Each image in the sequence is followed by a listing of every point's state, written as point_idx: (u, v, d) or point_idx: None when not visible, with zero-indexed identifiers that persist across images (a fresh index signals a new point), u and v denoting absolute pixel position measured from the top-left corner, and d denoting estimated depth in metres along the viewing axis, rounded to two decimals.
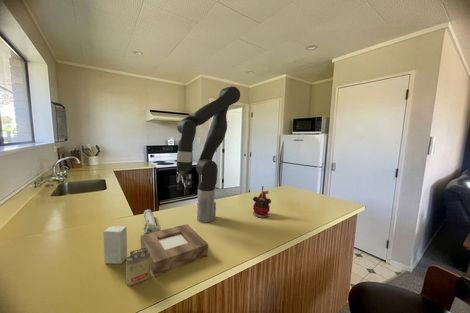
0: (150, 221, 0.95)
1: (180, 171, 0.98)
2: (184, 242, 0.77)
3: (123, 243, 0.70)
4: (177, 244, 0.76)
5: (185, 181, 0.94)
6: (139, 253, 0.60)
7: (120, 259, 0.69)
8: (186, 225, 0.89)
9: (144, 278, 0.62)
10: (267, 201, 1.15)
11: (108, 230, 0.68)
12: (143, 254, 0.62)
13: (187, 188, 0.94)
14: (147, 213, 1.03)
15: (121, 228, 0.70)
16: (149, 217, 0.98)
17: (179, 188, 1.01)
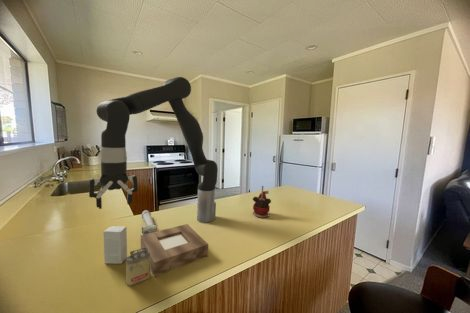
0: (147, 222, 0.94)
1: (107, 178, 0.66)
2: (184, 242, 0.77)
3: (123, 243, 0.70)
4: (177, 244, 0.76)
5: (127, 187, 0.70)
6: (139, 253, 0.60)
7: (120, 259, 0.69)
8: (186, 225, 0.89)
9: (144, 278, 0.62)
10: (267, 201, 1.15)
11: (108, 230, 0.68)
12: (143, 254, 0.62)
13: None
14: (144, 215, 1.02)
15: (121, 228, 0.70)
16: (146, 218, 0.98)
17: (101, 205, 0.66)
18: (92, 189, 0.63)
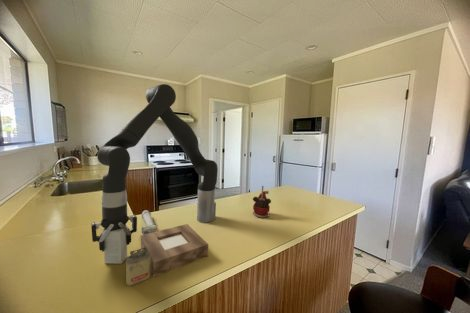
0: (147, 222, 0.94)
1: (108, 221, 0.67)
2: (184, 242, 0.77)
3: (123, 243, 0.70)
4: (177, 244, 0.76)
5: (127, 227, 0.71)
6: (139, 253, 0.60)
7: (120, 259, 0.69)
8: (186, 225, 0.89)
9: (144, 278, 0.62)
10: (267, 201, 1.15)
11: None
12: (143, 254, 0.62)
13: None
14: (144, 215, 1.02)
15: None
16: (146, 218, 0.98)
17: None
18: (94, 234, 0.65)
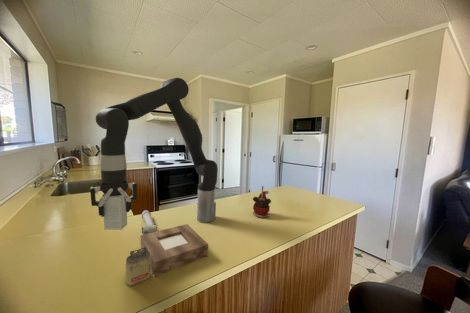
0: (147, 222, 0.94)
1: (108, 185, 0.66)
2: (184, 242, 0.77)
3: (123, 210, 0.69)
4: (177, 244, 0.76)
5: (126, 194, 0.70)
6: (139, 253, 0.60)
7: (120, 225, 0.68)
8: (186, 225, 0.89)
9: (144, 278, 0.62)
10: (267, 201, 1.15)
11: None
12: (143, 254, 0.62)
13: None
14: (144, 215, 1.02)
15: None
16: (146, 218, 0.98)
17: (103, 213, 0.67)
18: (93, 198, 0.64)
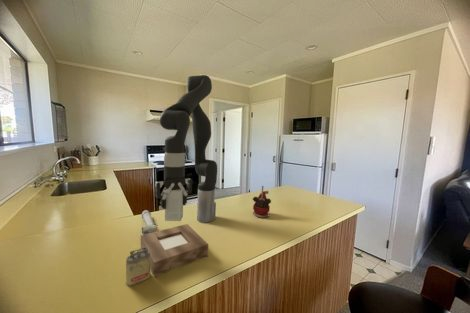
0: (147, 222, 0.94)
1: (170, 180, 0.73)
2: (184, 242, 0.77)
3: (181, 203, 0.75)
4: (177, 244, 0.76)
5: (184, 189, 0.77)
6: (139, 253, 0.60)
7: (179, 217, 0.74)
8: (186, 225, 0.89)
9: (144, 278, 0.62)
10: (267, 201, 1.15)
11: None
12: (143, 254, 0.62)
13: None
14: (144, 215, 1.02)
15: None
16: (146, 218, 0.98)
17: None
18: (159, 191, 0.70)
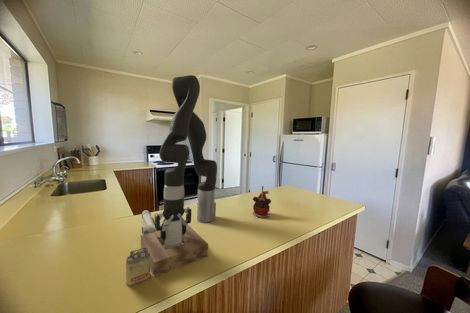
0: (147, 222, 0.94)
1: (169, 212, 0.74)
2: None
3: (181, 233, 0.76)
4: None
5: (183, 219, 0.78)
6: (139, 253, 0.60)
7: None
8: (186, 225, 0.89)
9: (144, 278, 0.62)
10: (267, 201, 1.15)
11: None
12: (143, 254, 0.62)
13: None
14: (144, 215, 1.02)
15: None
16: (146, 218, 0.98)
17: None
18: (158, 224, 0.72)
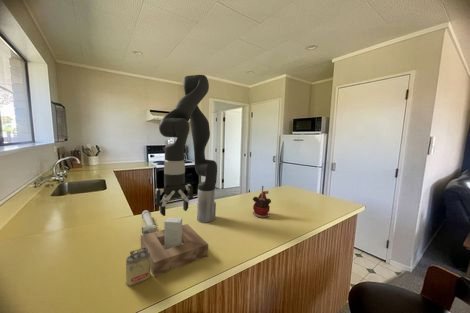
0: (147, 222, 0.94)
1: (170, 188, 0.73)
2: None
3: (180, 233, 0.76)
4: None
5: (184, 195, 0.77)
6: (139, 253, 0.60)
7: None
8: (186, 225, 0.89)
9: (144, 278, 0.62)
10: (267, 201, 1.15)
11: (168, 221, 0.75)
12: (143, 254, 0.62)
13: None
14: (144, 215, 1.02)
15: (178, 219, 0.77)
16: (146, 218, 0.98)
17: None
18: (158, 198, 0.70)
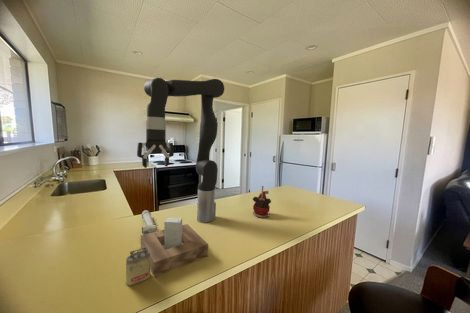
0: (147, 222, 0.94)
1: (151, 142, 0.80)
2: None
3: (180, 233, 0.76)
4: None
5: (165, 151, 0.84)
6: (139, 253, 0.60)
7: None
8: (186, 225, 0.89)
9: (144, 278, 0.62)
10: (267, 201, 1.15)
11: (168, 221, 0.75)
12: (143, 254, 0.62)
13: None
14: (144, 215, 1.02)
15: (178, 219, 0.77)
16: (146, 218, 0.98)
17: None
18: (140, 150, 0.78)
